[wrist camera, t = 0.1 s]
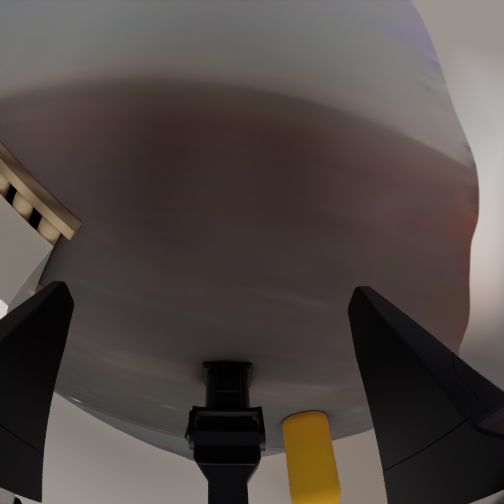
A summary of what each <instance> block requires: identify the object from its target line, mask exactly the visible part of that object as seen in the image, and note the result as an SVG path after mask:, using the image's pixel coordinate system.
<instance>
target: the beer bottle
mask: <svg viewBox="0 0 504 504" xmlns="http://www.w3.org/2000/svg"><path fill="white" fill-rule="evenodd" d="M282 430H283V436H284V443H285V452H286V460H287V469H288V476H289V477H288V478H289V486H290V496H291V501H292V504H338V503H339V500H340V495H341V488H340V483H339V478H338V472H337V468H336V462H335V456H334V451H333V447H332V441H331V436H330V431H329V425H328V420H327V417H326V415H325V414H324V413H323V412H320V411H307V412H301V413H297V414H294V415H291V416H289V417H287V418H286V419H285V420H284V421H283V424H282Z"/></svg>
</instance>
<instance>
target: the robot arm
mask: <svg viewBox="0 0 504 504" xmlns="http://www.w3.org/2000/svg"><path fill="white" fill-rule="evenodd" d="M73 309H74V301H73V298H72V296H71V294H70V292H69V289H68V287H67V285H66V283H65V282H63V281H53V282H51V283H50V284H48V285H47V286H46V287H44V288H43V289H41V290H40V291H38V292H37V293H35V294H34V295H33V296H31V297H30V298H28V299H27V300H25V301H24V302H23V303H21V304H20V305H19V306H17V307H16V308H14V309H13V310H12V311H10V312H9V313H8V314H6V315H5V316H4V317H2V318H1V319H0V504H22V503H21V501H20V499H18V498H17V497H15V494H17V495H20V496H22V497H25V498H28V499H31V500H34V501H37V502H42V474H43V472H42V471H43V458H44V446H45V438H46V430H47V424H48V417H49V412H50V406H51V401H52V396H53V392H54V387H55V383H56V378H57V374H58V370H59V367H60V363H61V359H62V356H63V352H64V348H65V344H66V339H67V335H68V330H69V325H70V321H71V317H72V313H73ZM348 316H349V321H350V326H351V332H352V337H353V343H354V349H355V354H356V358H357V362H358V366H359V370H360V373H361V377H362V381H363V384H364V388H365V392H366V396H367V400H368V404H369V408H370V412H371V417H372V421H373V425H374V430H375V434H376V439H377V444H378V449H379V454H380V458H381V464H382V469H383V476H384V482H385V488H386V495H387V502H388V504H504V391H503V390H501V389H500V388H499V387H497V386H496V385H494V384H493V383H492V382H491V381H489V380H487V379H486V378H485V377H484V376H482V375H480V374H479V373H478V372H477V371H476V370H474V369H473V368H472V367H471V366H469V365H468V364H467V363H466V362H464V361H463V360H462V359H461V358H460V357H458V356H457V355H456V354H455V353H454V352H451V350H450V349H449V348H447V347H446V346H445V345H444V344H443V343H441V342H440V341H439V340H438V339H436V338H435V337H434V336H433V335H431V334H430V333H429V332H428V331H426V330H425V329H424V328H423V327H421V326H420V325H419V324H418V323H416V322H415V321H414V320H413V319H411V318H410V317H409V316H407V315H406V314H405V313H404V312H402V311H401V310H400V309H398V308H397V307H396V306H395V305H393V304H392V303H391V302H389V301H388V300H387V299H385V298H384V297H383V296H381V295H380V294H379V293H377V292H376V291H375V290H373V289H372V288H371V287H369V286H358V287H356V288H355V290H354V292H353V295H352V298H351V300H350V303H349V306H348ZM202 368H203V374H204V379H205V385H206V404H205V407H197V406H193V408H192V410H191V411H189V422H188V426H187V429H186V433H185V439H186V440H187V441H188V444H189V447H190V450H191V451H194V454H193V457H194V460H195V461H196V463H197V465H198V466H199V468H200V470H201V471H202V473H203V474H204V476H205V477H206V479H207V480H208V504H248V489H247V484H248V483H249V481H250V480H251V478H252V476H253V475H254V473H255V472H256V470H257V469H258V466H259V462H260V459H261V452H265V448H266V438H265V428H264V420H263V413H262V407H251V408H250V401H249V388H250V385H251V374H252V364H251V363H203V365H202Z"/></svg>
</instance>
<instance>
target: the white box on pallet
mask: <svg viewBox="0 0 504 504" xmlns="http://www.w3.org/2000/svg"><path fill="white" fill-rule="evenodd" d="M52 249H53V246H52V245H51V244H50V243H49V242H48V241H47V240H46V239H44V238H43V237H42V236H41V235H40V234H39V233H38V232H37V231H36V230H35V229H34V228H33V227H32V226H31V225H30V224H29V223H28V222H27V221H26V220H25V219H24V218H23V217H22V216H21V215H20V214H19V213H18V212H17V211H16V210H15V209H14V208H13V207H12V206H11V205H10V204H9V203H8V202H7V201H6V200H5V199H4V198H3V196H2V195H1V194H0V319H1V318H2V317H4V316H5V315H6V314H8V313H9V312H10V311H12V310H13V309H14V308H16V307H17V306H19V305H20V304H21V303H23V302H24V301H25V300H27V299H28V298H30V297H31V296H33V294H34V291H35V289H36V286H37V284H38V281H39V279H40V276H41V274H42V271H43V269H44V267H45V265H46V262H47V260H48V258H49V256H50V253H51V251H52Z"/></svg>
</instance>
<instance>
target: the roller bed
mask: <svg viewBox="0 0 504 504" xmlns="http://www.w3.org/2000/svg"><path fill="white" fill-rule="evenodd" d="M11 184H12V185H13V186H14V187H15V188H16V189H17V192H16V194H15V197H14V200H13V203H12V207H13V208H14V209H15V210H16V211H17V212H18V213H19V214H20V215H21V216H22V217H23V218H24V219H25V220H26V221H27V222H29V219H30V216H31V214H32V211H33V209H34V208H35V209H36V210H37V211H38V212H39V213H40V214H42V215H43V216H42V219H41V221H40V223H39V226H38V228H37V232H38V233H39V234H40V235H41V236H42V237H43V238H44V239H46V240H47V241H48V242H49V243H50V244H51V245H52V246H53V248H54V246H55V244H56V242H57V239H58V237H59V236H60V234H61V233H62V234H63V235H64V236H66V237H67V238H68V239H69V240H70V239H71V238H72V237H73V236H74V235H75V233H76V232H77V231H78V229H79V228H80V226H81V224H82V223H81V222H80V221H79V220H78V219H76V218H75V217H74V216H73V215H72V214H71V213H70V212H69V211H68V210H66V209H65V208H64V207H63V206H62V205H61V204H60V203H59V202H58V201H57V200H56V199H55V198H54V197H52V196H51V195H50V194H49V193H48V192H47V191H46V190H45V189H44V188H43V187H42V186H41V185H40V184H39V183H38V182H37V181H36V180H35V179H34V178H33V177H32V176H31V175H30V174H29V173H28V172H27V171H26V170H25V169H24V168H23V167H22V166H21V165H20V164H19V162H18V161H17V160H16V159H15V158H14V157H13V156H12V155H11V154H10V153H9V152H8V151H7V149H6V148H5V147H4V146H3V145H2V144H1V143H0V194H1V195H2V196H3V198H4V199H5V200H6V197H7V194H8V191H9V188H10V185H11ZM52 250H53V249H52ZM51 252H52V251H51ZM50 254H51V253H50ZM47 261H48V260H47ZM46 263H47V262H46ZM43 270H44V269H43ZM42 272H43V271H42ZM40 277H41V276H40ZM43 288H44V287H43V286H42V285H41V284H40V283H39V281H38V284H37V286H36V289H35V291H34V294H35V293H37V292H38V291H40V290H41V289H43ZM34 294H33V295H34Z"/></svg>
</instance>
